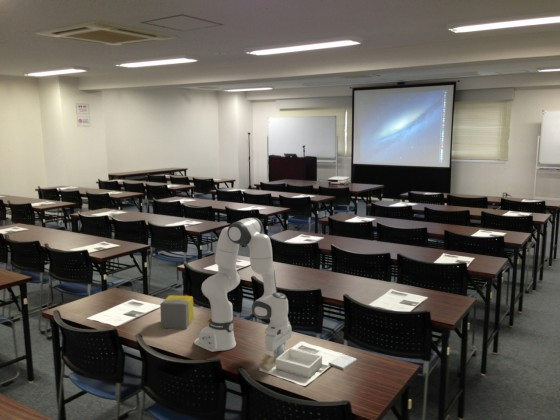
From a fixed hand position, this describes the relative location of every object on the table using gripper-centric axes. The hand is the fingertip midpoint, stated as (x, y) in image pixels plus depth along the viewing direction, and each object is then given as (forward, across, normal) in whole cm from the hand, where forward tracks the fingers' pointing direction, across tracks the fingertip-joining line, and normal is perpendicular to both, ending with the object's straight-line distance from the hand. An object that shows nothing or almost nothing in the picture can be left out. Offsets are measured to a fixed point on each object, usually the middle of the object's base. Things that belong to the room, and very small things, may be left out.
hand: (279, 352), depth 229 cm
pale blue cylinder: (+3, 0, 0) cm, 3 cm away
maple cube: (+3, +12, 0) cm, 12 cm away
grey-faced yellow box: (+3, -12, -75) cm, 76 cm away
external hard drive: (+3, -11, +29) cm, 31 cm away
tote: (+3, +4, +13) cm, 14 cm away
